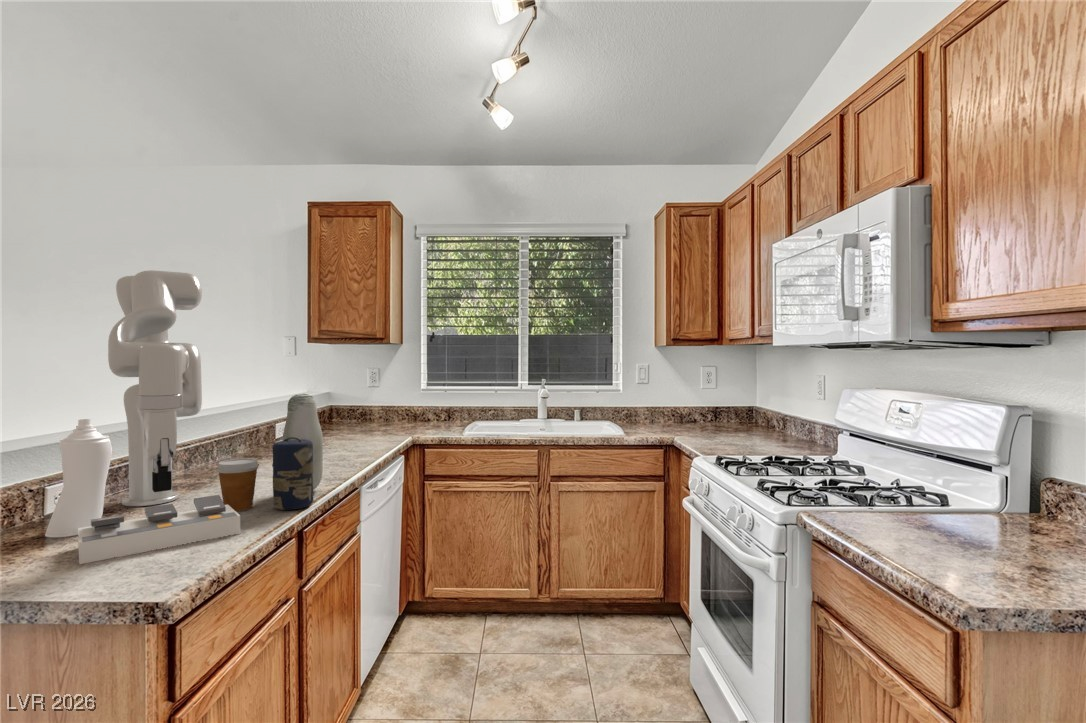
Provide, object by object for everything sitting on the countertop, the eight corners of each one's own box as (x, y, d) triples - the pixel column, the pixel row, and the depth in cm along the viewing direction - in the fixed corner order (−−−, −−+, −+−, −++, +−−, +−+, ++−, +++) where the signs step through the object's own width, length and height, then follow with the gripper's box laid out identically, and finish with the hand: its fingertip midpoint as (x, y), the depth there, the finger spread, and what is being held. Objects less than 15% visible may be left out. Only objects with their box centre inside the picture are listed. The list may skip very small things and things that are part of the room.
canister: (287, 514, 137) (287, 441, 136) (265, 508, 142) (264, 438, 141) (321, 505, 145) (321, 436, 144) (299, 500, 150) (298, 433, 150)
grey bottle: (296, 487, 164) (295, 392, 164) (329, 488, 163) (328, 392, 162) (276, 496, 154) (274, 395, 154) (310, 497, 153) (309, 395, 153)
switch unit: (78, 547, 113) (77, 524, 113) (228, 521, 131) (227, 501, 131) (79, 564, 104) (78, 539, 104) (240, 533, 122) (240, 512, 122)
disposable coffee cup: (207, 511, 139) (207, 463, 139) (241, 502, 148) (240, 457, 148) (235, 515, 136) (234, 466, 136) (267, 505, 145) (267, 459, 145)
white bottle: (109, 520, 132) (108, 415, 132) (116, 530, 124) (114, 418, 124) (43, 531, 124) (42, 419, 124) (46, 542, 116) (45, 423, 116)
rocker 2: (193, 502, 125) (193, 498, 125) (219, 498, 129) (219, 494, 128) (199, 515, 120) (199, 511, 120) (225, 511, 123) (225, 506, 123)
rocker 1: (90, 524, 114) (90, 519, 114) (121, 519, 117) (121, 514, 117) (91, 527, 108) (91, 521, 108) (124, 521, 112) (123, 516, 112)
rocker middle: (144, 512, 120) (144, 507, 120) (172, 508, 123) (172, 503, 123) (148, 521, 114) (148, 516, 114) (177, 517, 118) (177, 512, 117)
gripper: (135, 400, 120) (136, 485, 120) (142, 408, 108) (143, 501, 109) (177, 398, 124) (177, 480, 125) (188, 405, 113) (189, 495, 114)
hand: (162, 490), depth 117 cm, fingers closed
